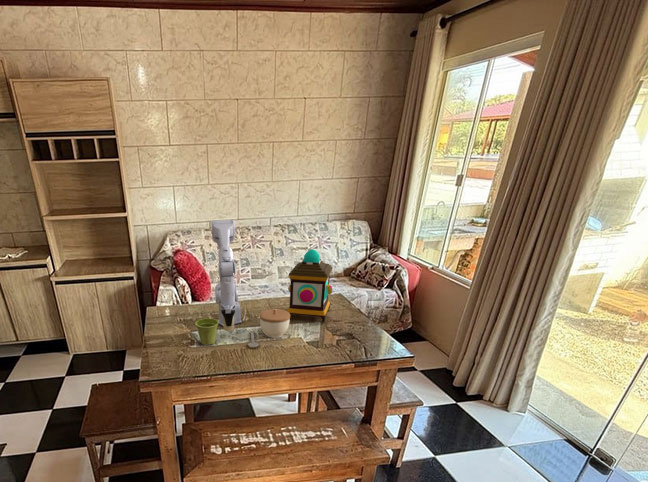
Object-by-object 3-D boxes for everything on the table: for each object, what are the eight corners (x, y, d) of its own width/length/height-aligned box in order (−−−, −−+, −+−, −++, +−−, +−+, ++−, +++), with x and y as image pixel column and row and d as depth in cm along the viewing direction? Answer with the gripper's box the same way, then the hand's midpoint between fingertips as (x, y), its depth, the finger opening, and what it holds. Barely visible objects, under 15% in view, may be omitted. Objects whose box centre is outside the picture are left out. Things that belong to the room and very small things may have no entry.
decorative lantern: (291, 305, 201) (294, 243, 186) (332, 309, 195) (338, 245, 180) (282, 320, 185) (284, 253, 170) (326, 324, 179) (333, 255, 164)
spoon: (247, 333, 174) (247, 331, 173) (257, 332, 174) (257, 331, 173) (247, 348, 161) (247, 346, 160) (259, 348, 160) (259, 346, 160)
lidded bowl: (293, 330, 174) (294, 306, 169) (284, 342, 164) (284, 316, 159) (265, 327, 179) (265, 303, 174) (255, 338, 169) (254, 313, 164)
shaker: (231, 326, 174) (230, 306, 169) (236, 330, 170) (236, 309, 166) (221, 328, 172) (220, 308, 167) (226, 332, 168) (226, 311, 164)
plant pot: (222, 338, 170) (221, 319, 165) (214, 348, 162) (213, 328, 158) (202, 336, 173) (200, 317, 168) (193, 345, 165) (191, 325, 161)
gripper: (238, 297, 157) (238, 330, 163) (237, 286, 169) (238, 316, 176) (219, 298, 157) (221, 330, 163) (220, 286, 169) (221, 317, 176)
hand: (228, 323), depth 170 cm, fingers closed on shaker, 4 cm apart
